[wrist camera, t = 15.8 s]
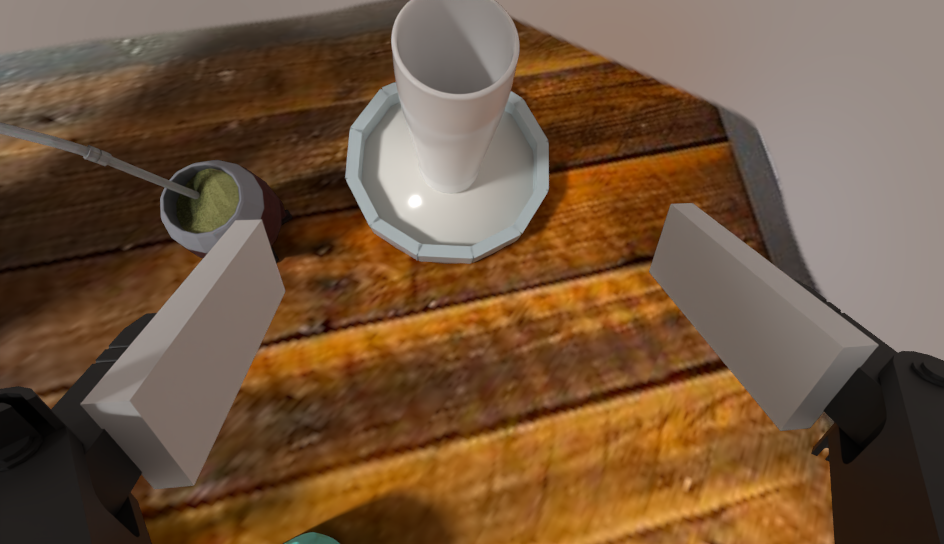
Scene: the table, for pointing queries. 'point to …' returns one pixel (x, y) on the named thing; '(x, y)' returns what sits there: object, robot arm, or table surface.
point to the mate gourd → (192, 194)
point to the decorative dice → (312, 539)
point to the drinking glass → (453, 83)
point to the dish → (441, 214)
